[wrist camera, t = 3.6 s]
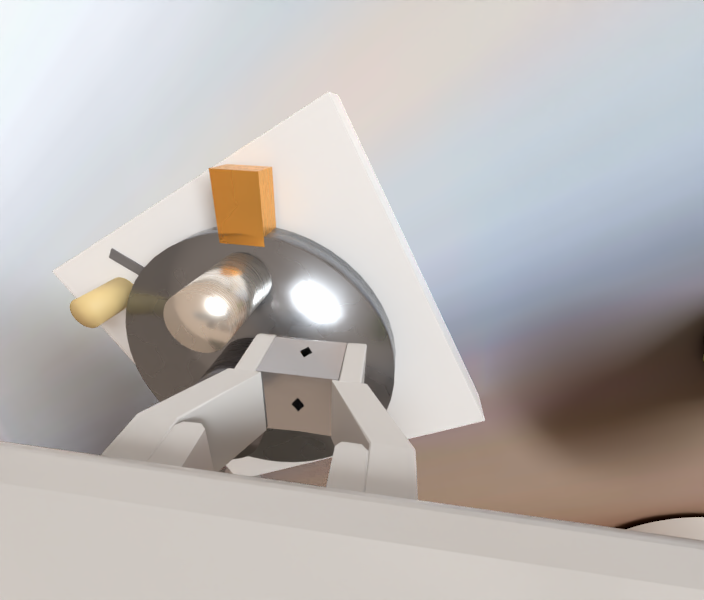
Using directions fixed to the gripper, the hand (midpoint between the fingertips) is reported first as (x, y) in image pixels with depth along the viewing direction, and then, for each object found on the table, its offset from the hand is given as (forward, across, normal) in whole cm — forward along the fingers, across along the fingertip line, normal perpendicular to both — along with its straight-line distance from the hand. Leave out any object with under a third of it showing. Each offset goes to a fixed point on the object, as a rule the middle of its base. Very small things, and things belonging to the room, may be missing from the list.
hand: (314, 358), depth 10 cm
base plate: (+10, +4, +6) cm, 12 cm away
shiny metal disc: (+7, +5, +5) cm, 10 cm away
